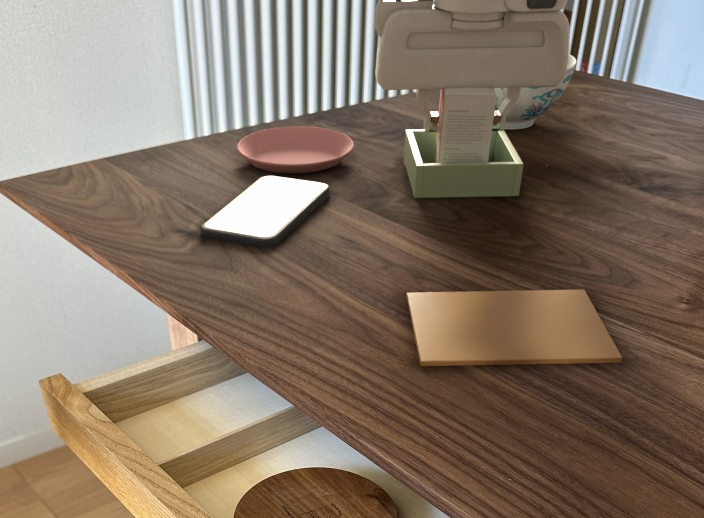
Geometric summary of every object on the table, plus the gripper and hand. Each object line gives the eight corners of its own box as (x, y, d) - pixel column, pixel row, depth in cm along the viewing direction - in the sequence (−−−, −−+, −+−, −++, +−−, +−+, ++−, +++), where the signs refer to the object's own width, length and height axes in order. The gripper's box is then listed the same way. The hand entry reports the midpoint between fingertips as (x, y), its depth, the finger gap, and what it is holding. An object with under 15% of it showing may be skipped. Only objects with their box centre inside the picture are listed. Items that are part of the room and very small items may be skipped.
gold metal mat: (582, 299, 77) (584, 289, 76) (619, 368, 68) (622, 357, 67) (405, 302, 77) (406, 292, 76) (420, 372, 68) (420, 361, 67)
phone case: (273, 256, 85) (334, 197, 96) (272, 241, 84) (334, 183, 95) (196, 243, 88) (263, 187, 99) (194, 228, 87) (262, 173, 98)
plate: (217, 171, 103) (215, 154, 101) (270, 136, 112) (270, 120, 111) (324, 188, 98) (324, 171, 97) (370, 150, 108) (371, 134, 106)
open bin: (498, 162, 104) (502, 127, 101) (518, 201, 94) (523, 163, 92) (403, 164, 104) (405, 129, 101) (414, 203, 95) (416, 165, 92)
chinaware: (478, 144, 109) (485, 78, 104) (437, 110, 120) (442, 49, 115) (585, 133, 111) (598, 68, 106) (535, 102, 122) (545, 41, 117)
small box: (433, 169, 102) (441, 72, 95) (480, 169, 102) (491, 73, 95) (434, 193, 96) (443, 92, 89) (484, 194, 96) (497, 93, 89)
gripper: (378, -7, 84) (372, 141, 93) (585, -11, 84) (559, 137, 93) (373, -18, 89) (369, 123, 98) (569, -22, 88) (546, 120, 98)
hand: (463, 130), depth 95 cm, fingers open, 6 cm apart
